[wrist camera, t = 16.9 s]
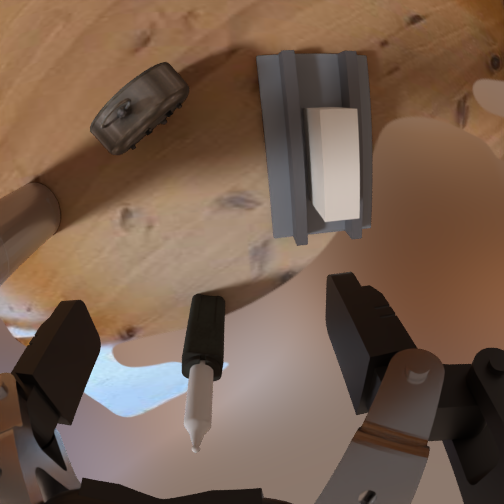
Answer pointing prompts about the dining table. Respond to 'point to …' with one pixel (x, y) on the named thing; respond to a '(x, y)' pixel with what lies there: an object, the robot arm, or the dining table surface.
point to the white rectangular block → (333, 161)
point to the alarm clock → (139, 108)
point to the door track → (293, 134)
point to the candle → (202, 362)
